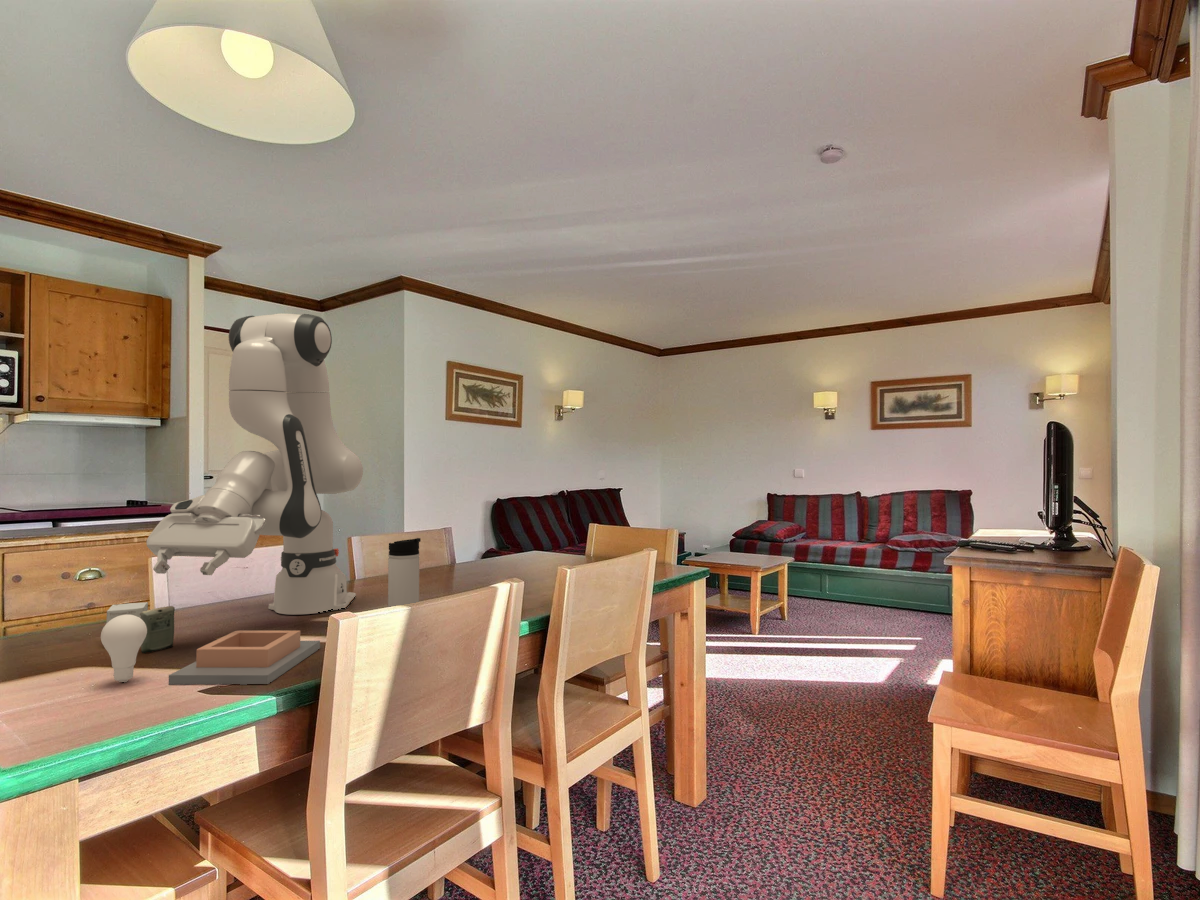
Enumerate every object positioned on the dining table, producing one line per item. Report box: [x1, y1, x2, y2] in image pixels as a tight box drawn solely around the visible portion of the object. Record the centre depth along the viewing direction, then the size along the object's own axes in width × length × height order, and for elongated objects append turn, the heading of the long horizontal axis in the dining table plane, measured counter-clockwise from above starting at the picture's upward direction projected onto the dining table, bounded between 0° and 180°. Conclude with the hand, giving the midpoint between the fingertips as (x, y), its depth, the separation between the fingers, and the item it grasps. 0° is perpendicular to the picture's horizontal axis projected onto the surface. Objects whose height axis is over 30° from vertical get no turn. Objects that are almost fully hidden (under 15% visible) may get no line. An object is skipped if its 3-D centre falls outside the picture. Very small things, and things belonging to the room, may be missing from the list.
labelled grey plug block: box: [140, 605, 176, 654], centre depth 124 cm, size 6×5×8 cm
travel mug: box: [387, 537, 422, 608], centre depth 136 cm, size 6×7×20 cm
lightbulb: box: [100, 615, 147, 683], centre depth 106 cm, size 6×6×11 cm
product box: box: [105, 601, 149, 625], centre depth 129 cm, size 6×6×7 cm
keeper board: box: [168, 630, 321, 686], centre depth 115 cm, size 20×16×4 cm
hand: (181, 572), depth 118 cm, fingers open, 8 cm apart
